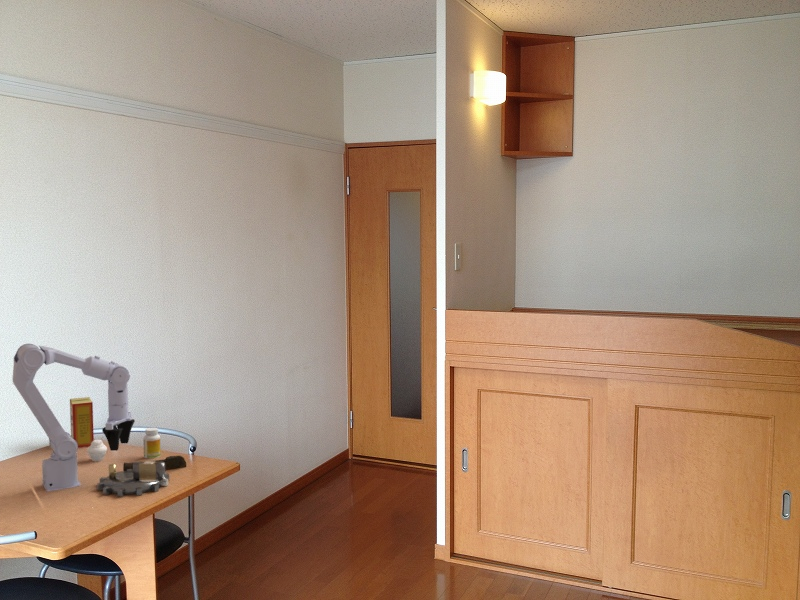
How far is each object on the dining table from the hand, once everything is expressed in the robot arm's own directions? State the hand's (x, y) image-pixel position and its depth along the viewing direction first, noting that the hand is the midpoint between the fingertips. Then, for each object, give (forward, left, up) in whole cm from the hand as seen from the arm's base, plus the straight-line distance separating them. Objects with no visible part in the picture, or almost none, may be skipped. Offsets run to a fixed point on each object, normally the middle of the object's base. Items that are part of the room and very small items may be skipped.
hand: (119, 446), depth 230 cm
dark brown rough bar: (+11, -1, -10) cm, 15 cm away
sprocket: (+1, -12, -9) cm, 15 cm away
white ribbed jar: (-2, +21, -10) cm, 23 cm away
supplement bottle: (+14, +14, -10) cm, 22 cm away
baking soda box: (-2, +44, -10) cm, 45 cm away
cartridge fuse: (+5, -15, -7) cm, 17 cm away
